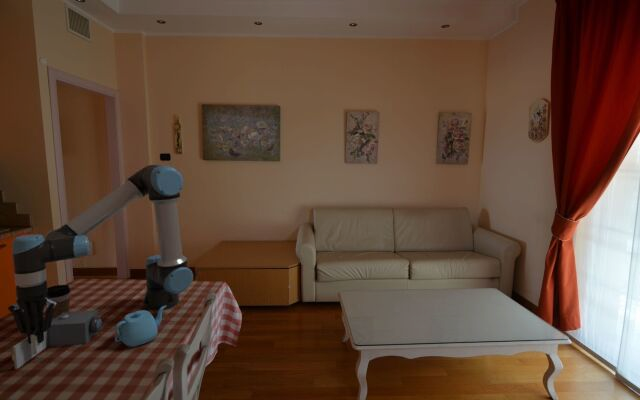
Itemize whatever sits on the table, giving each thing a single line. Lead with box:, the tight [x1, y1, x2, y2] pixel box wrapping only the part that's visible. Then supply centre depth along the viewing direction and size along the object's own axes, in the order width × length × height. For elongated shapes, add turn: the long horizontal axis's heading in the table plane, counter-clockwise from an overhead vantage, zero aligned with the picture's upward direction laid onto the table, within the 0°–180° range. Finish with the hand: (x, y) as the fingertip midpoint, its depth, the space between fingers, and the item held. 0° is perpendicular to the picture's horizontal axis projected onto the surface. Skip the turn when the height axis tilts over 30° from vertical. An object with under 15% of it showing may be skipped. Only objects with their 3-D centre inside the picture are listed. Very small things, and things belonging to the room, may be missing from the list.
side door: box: [11, 331, 49, 370], centre depth 107 cm, size 12×2×8 cm, turn 3°
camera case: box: [47, 309, 103, 347], centre depth 120 cm, size 14×10×9 cm
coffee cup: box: [45, 284, 72, 321], centre depth 129 cm, size 8×8×15 cm
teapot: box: [114, 305, 167, 348], centre depth 121 cm, size 13×11×18 cm
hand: (37, 351), depth 106 cm, fingers closed
